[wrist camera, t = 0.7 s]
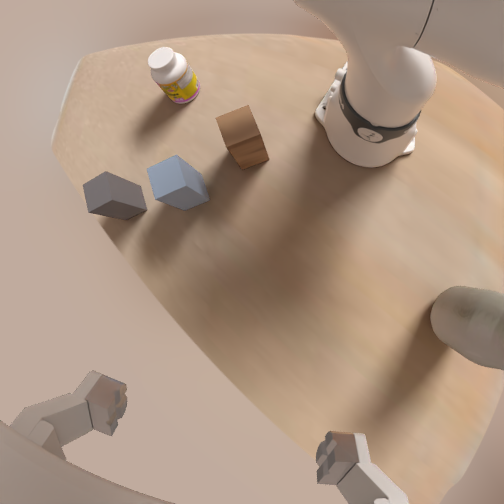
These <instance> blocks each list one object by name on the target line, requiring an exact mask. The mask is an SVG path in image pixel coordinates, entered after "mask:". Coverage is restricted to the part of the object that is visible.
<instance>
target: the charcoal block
mask: <svg viewBox="0 0 504 504" xmlns="http://www.w3.org/2000/svg"><path fill="white" fill-rule="evenodd" d="M83 188H84V193H85V198H86V203H87V208H88V212H89V213H93V214H98V215H103V216H108V217H113V218H118V219H123V220H127V219H129V218H131V217H134V216H136V215H138V214H140V213H142V212H144V211H146V210H147V207H146V203H145V200H144V196H143V192H142V189H141V186H139V185H137V184H135V183H132V182H130V181H128V180H125V179H123V178H121V177H118V176H116V175H113V174H111V173H109V172H104V173H102V174H100V175H99V176H97V177H95V178H93V179H92V180H90V181H88V182H87V183H85V184H83Z"/></svg>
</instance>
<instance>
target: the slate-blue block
mask: <svg viewBox="0 0 504 504" xmlns="http://www.w3.org/2000/svg"><path fill="white" fill-rule="evenodd" d="M147 172H148V175H149V179H150V183H151V186H152V190H153V194H154V197H155V200H158V201H160V202H163V203H166V204H168V205H171V206H174V207H176V208H179V209H182V210H184V211H185V210H188V209H190V208H192V207H195V206H197V205H200V204H202V203H204V202H207V201H209V200H210V198H209V195H208V192H207V189H206V186H205V183H204V180H203V177H202V174H200V173H199V172H198V171H197V170H195V169H194V168H193V167H192V166H190V165H189V164H188V163H187V162H185V161H184V160H183V159H181V158H180V157H179V156H178V155H175V156H173V157H170V158H168V159H166V160H164V161H162V162H160V163H158V164H156V165H154V166H152V167H150V168H148V169H147Z"/></svg>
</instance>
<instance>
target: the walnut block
mask: <svg viewBox="0 0 504 504" xmlns="http://www.w3.org/2000/svg"><path fill="white" fill-rule="evenodd" d="M216 120H217V123H218V126H219V129H220V131H221V134H222V137H223V140H224V142H225V145H226V147H227V149H228V150H229V152H230V153H231V155H232V156H233V157H234V159H235V160H236V162H237V163H238V165H239V166H240V167H241V169H242V170H243V169H246V168H248V167H251V166H254V165H256V164H259V163H261V162H264V161H267V160H269V157H268V154H267V151H266V148H265V145H264V143H263V140H262V137H261V134H260V131H259V129H258V127H257V124H256V122H255V119H254V117H253V115H252V112H251V110H250V108H249V105H247V106H245V107H242V108H239V109H237V110H234V111H232V112H229V113H227V114H224V115H222V116H219V117H217V118H216Z"/></svg>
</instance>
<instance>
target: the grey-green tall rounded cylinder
mask: <svg viewBox="0 0 504 504" xmlns="http://www.w3.org/2000/svg"><path fill="white" fill-rule="evenodd" d="M430 319H431V324H432V328H433V331H434V333H435V335H436V336H437V337H438V338H439V339H440V340H441V341H442V342H443V343H445V344H446V345H448V346H449V347H451V348H452V349H454V350H455V351H457V352H458V353H459V354H461V355H462V356H464V357H465V358H467V359H468V360H470V361H472V362H474V363H476V364H478V365H481V366H484V367H489V368H496V369H501V370H504V294H503V293H500V292H496V291H491V290H486V289H478V288H472V287H466V286H455V287H451V288H449V289H447V290H446V291H444V292H443V293H441V294H440V295H439V296H438V297H437V299H436V301H435V303H434V305H433V307H432V311H431V315H430Z"/></svg>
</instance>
